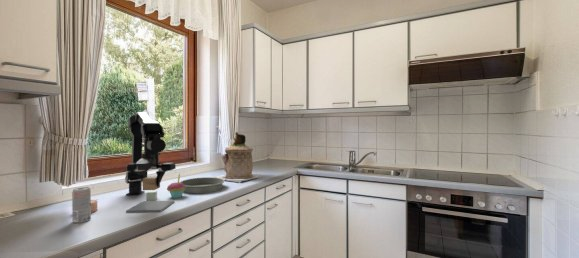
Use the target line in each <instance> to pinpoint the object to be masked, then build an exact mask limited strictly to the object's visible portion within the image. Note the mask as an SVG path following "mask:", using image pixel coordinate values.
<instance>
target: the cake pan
mask: <svg viewBox="0 0 579 258" xmlns="http://www.w3.org/2000/svg"><path fill="white" fill-rule="evenodd" d="M180 182H181V183H183V184H184V185H185V186H186V187H185V190H184V191H183V193H187V194H205V193H212V192H217V191H220V190H221V189H222V187H223V184H224V182H225V180H224V179H221V178H214V176H213V177H209V176H208V177H207V176H206V177H194V178H193V177H192V178H186V179H183V180H181V181H180Z"/></svg>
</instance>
